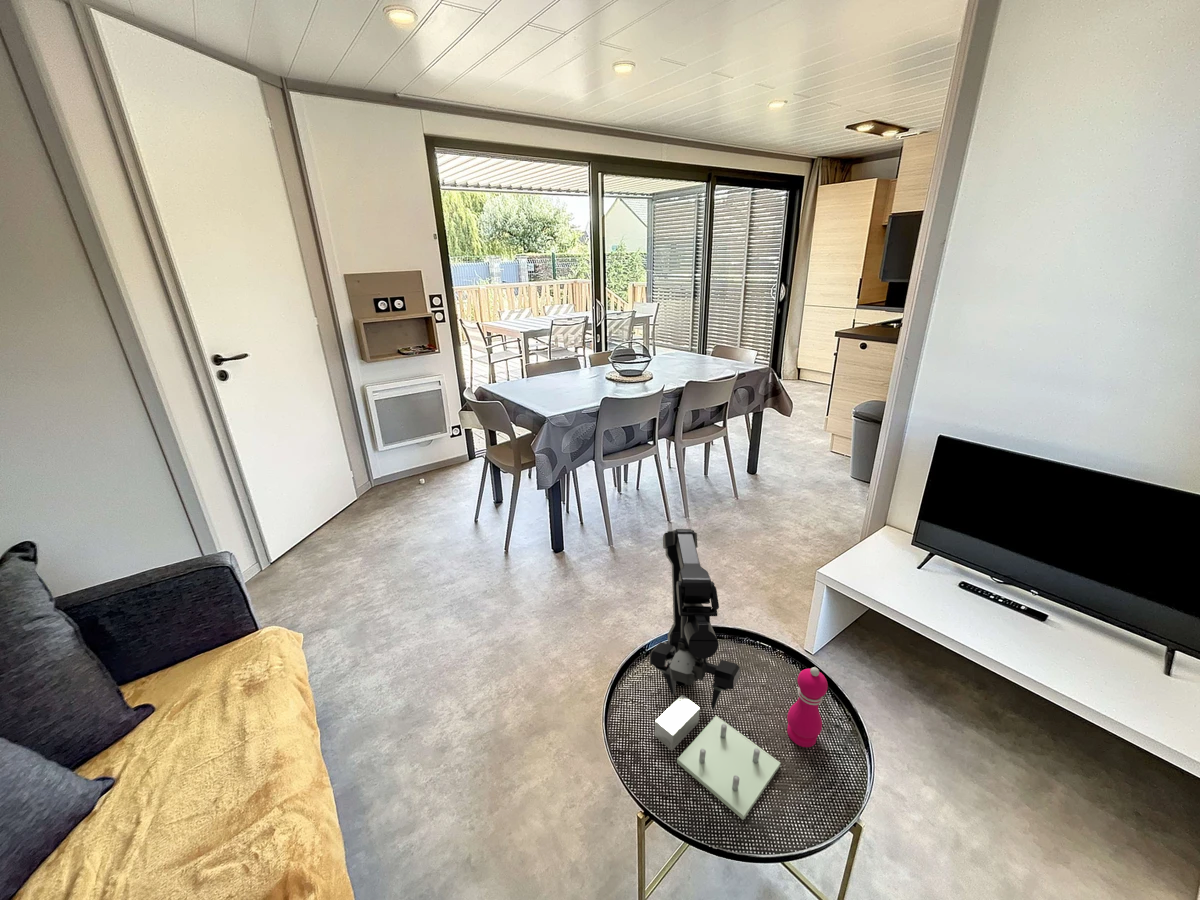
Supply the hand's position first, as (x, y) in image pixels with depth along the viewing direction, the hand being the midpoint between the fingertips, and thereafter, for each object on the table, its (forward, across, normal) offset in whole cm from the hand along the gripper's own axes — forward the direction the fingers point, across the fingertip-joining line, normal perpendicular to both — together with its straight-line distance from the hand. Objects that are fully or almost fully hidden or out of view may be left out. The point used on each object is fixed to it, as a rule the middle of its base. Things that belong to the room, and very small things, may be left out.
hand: (692, 700), depth 104 cm
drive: (+11, -5, +3) cm, 12 cm away
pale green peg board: (+13, +8, +1) cm, 15 cm away
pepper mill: (+11, +20, +16) cm, 28 cm away
